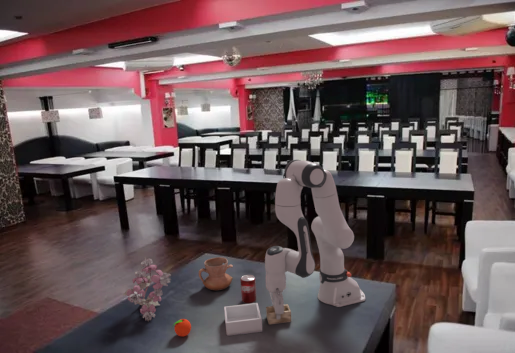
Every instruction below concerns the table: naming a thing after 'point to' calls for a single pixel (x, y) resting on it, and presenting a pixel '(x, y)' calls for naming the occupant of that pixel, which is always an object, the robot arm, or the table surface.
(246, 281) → the soda can
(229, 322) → the grey crate
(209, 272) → the ceramic jug
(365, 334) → the table surface
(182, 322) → the clementine
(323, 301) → the robot arm
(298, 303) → the table surface
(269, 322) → the birch crate
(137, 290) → the flower
